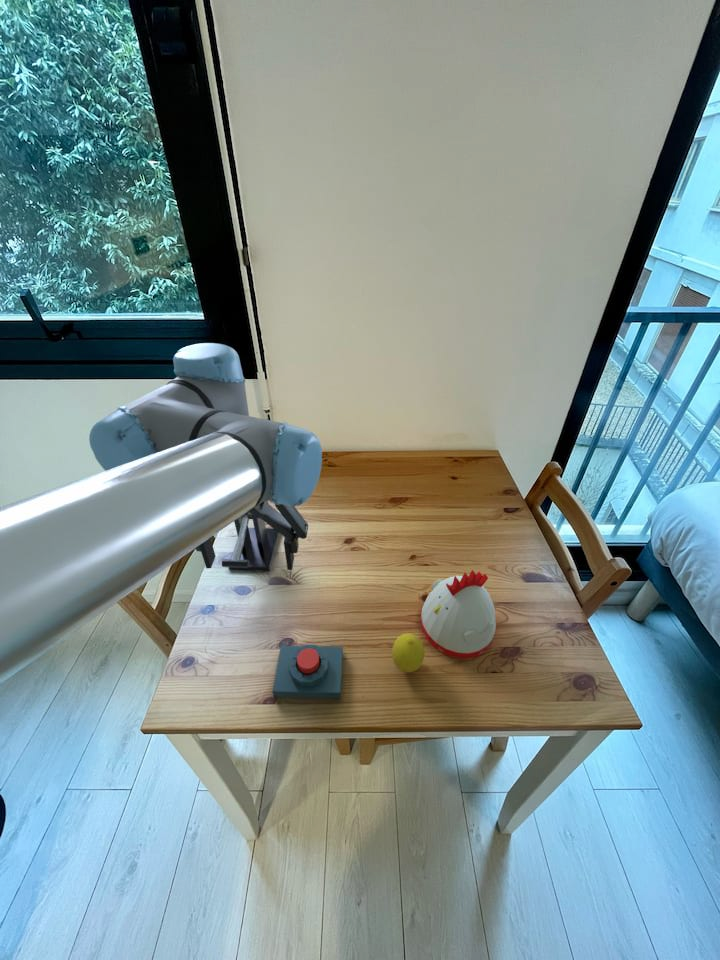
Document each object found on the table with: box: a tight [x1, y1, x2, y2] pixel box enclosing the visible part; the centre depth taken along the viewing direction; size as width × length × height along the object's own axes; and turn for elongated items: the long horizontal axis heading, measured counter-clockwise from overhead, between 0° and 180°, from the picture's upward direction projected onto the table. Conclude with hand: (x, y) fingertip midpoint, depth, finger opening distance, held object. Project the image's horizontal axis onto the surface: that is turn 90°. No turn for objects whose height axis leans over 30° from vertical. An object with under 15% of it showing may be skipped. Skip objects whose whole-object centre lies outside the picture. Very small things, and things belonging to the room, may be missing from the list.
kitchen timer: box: [419, 569, 497, 659], centre depth 74 cm, size 14×14×15 cm
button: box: [297, 648, 319, 674], centre depth 68 cm, size 4×4×2 cm
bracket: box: [227, 505, 281, 572], centre depth 89 cm, size 12×9×14 cm
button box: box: [272, 644, 344, 700], centre depth 69 cm, size 11×8×4 cm
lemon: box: [391, 633, 426, 673], centre depth 70 cm, size 6×6×8 cm
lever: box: [221, 513, 253, 568], centre depth 83 cm, size 14×5×2 cm, turn 178°
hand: (251, 563), depth 69 cm, fingers open, 13 cm apart
